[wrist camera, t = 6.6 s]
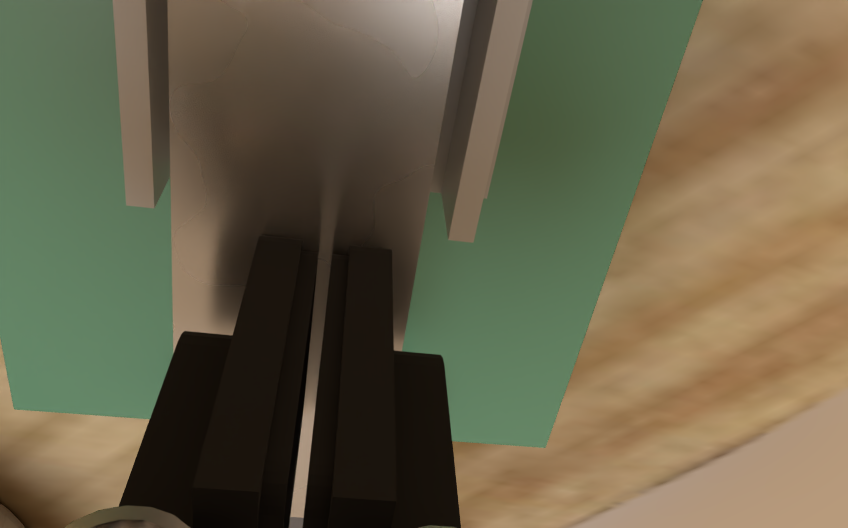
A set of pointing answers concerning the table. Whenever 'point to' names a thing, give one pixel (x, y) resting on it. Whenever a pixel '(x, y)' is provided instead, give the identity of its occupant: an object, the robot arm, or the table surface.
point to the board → (444, 223)
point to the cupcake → (8, 519)
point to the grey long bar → (301, 148)
